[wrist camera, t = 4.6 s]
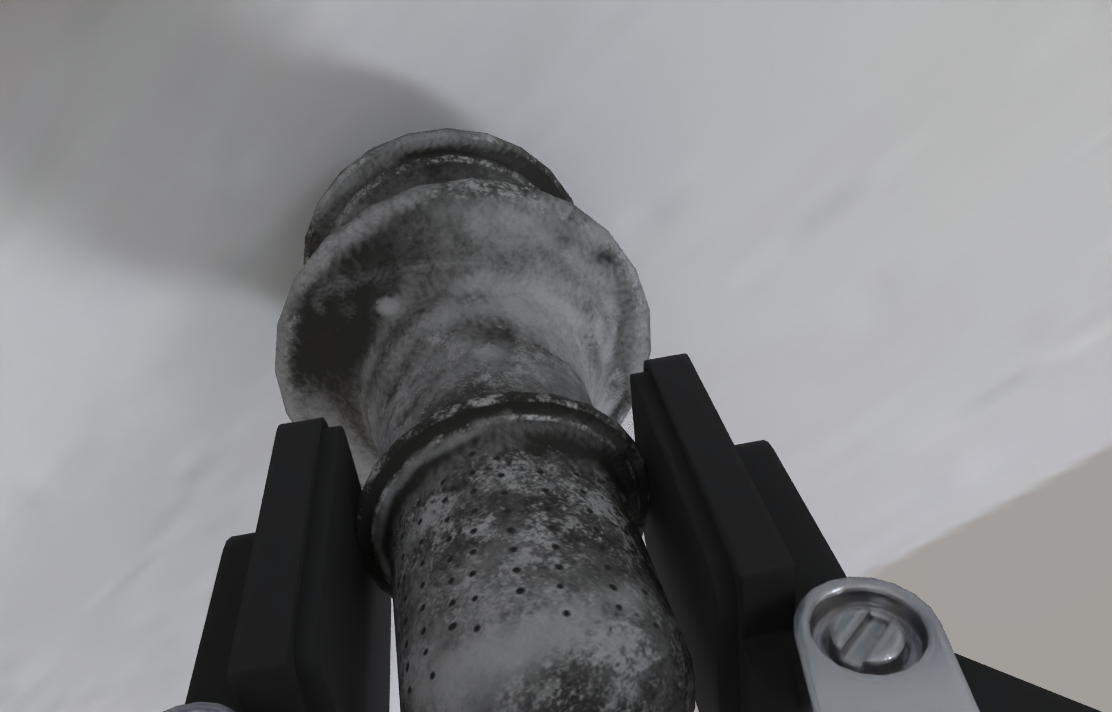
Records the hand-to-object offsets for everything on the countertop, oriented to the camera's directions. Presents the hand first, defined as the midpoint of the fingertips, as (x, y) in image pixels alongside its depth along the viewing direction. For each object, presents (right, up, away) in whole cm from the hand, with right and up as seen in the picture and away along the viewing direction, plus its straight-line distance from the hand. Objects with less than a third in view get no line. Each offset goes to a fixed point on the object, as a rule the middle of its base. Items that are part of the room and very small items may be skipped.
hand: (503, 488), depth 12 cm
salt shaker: (-1, +4, +6) cm, 7 cm away
